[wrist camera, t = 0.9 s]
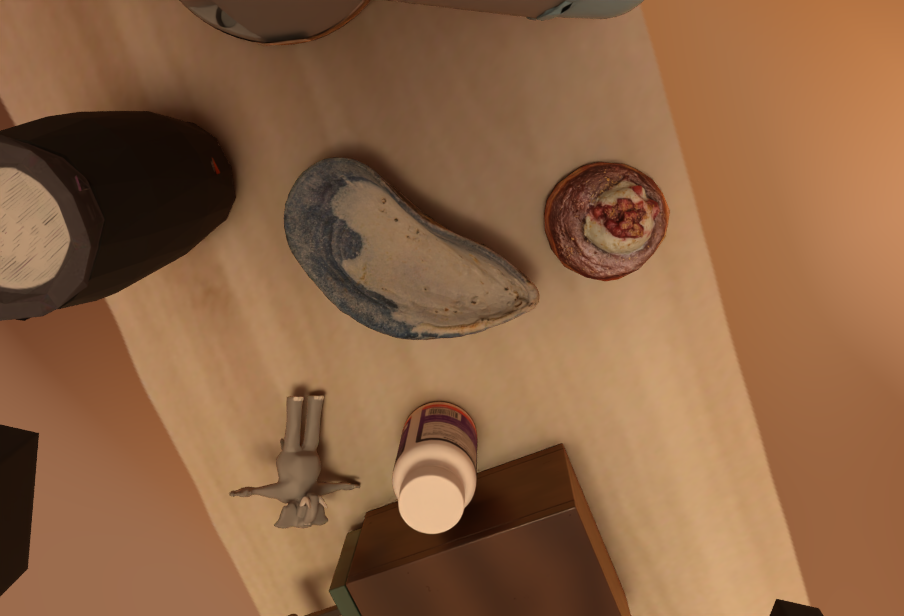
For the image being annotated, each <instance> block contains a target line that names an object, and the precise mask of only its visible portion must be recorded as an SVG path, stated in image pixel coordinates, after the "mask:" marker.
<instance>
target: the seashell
mask: <svg viewBox="0 0 904 616" xmlns="http://www.w3.org/2000/svg"><path fill="white" fill-rule="evenodd" d="M284 228H285V233H286V238H287V241H288V245H289V247H290V249H291V251H292V253H293V255H294V256H295V258H296V259H297V261H298V262H299V264H300V265H301V266H302V268H303V269H304V270H305V272H306V273H307V275H308V276H309V277H310V278H311V279H312V280H313V281H314V282H315V284H316V285H317V286H318V288H319V289H320V290H321V291H322V292H323V293H324V294H325V296H326V297H327V298H328V299H329V300H330V301H331V302H332V303H333V304H335V305H336V306H337V307H338V309H339V310H340V311H342V312H343V313H345V314H347V315H349V316H351V317H352V318H353V319H355V320H356V321H357V322H359V323H361V324H363V325H365V326H366V327H368V328H370V329H373V330H375V331H378V332H380V333H383V334H387V335H389V336H392V337H396V338H401V339H412V340H421V339H422V340H429V339H438V338H453V337H461V336H464V335H468V334H475V333H478V332H481V331H484V330H486V329H488V328H491V327H494V326H497V325H500V324H503V323H505V322H508V321H510V320H512V319H514V318H516V317H518V316H520V315H522V314H525V313H527V312H529V311H530V310H532V309H534V308H535V307H536V305H537V304H538V302H539V292H538V289H537V287H536V286H535V284H534V283H533V282H532V281H531V280H530V279H529V278H528V277H527V276H525V275H524V274H523V273H522V272H521V271H519V270H518V269H517V268H516V267H514V266H513V265H512V264H511V263H510V262H508V261H507V260H506V259H504V258H503V257H502V256H500V255H499V254H498V253H496V252H494V251H492V250H491V249H489V248H488V247H486V246H485V245H484V244H480V243H477V242H475V241H472V240H470V239H468V238H465V237H463V236H461V235H458V234H455V233H453V232H452V231H450V230H448V229H447V228H445V227H444V226H442V225H441V224H439V223H438V222H436V221H435V220H434V219H432V218H431V217H429V216H427V215H426V214H424V213H423V212H422V211H421V210H420V209H419V208H418V207H416V206H415V205H414V204H413V203H412V202H410V201H409V200H408V199H407V198H406V197H405V196H404V195H403V194H402V193H400V192H399V191H398V190H397V189H395V188H394V187H393V186H392V185H390V184H389V183H388V182H386V181H385V180H384V179H383V178H382V177H381V176H380V175H379V174H378V173H376V172H375V171H374V170H373V169H371V168H370V167H369V166H367V165H366V164H363V163H361V162H359V161H357V160H354V159H348V158H328V159H324V160H321V161H319V162H317V163H315V164H313V165H312V166H311V167H309V168H308V169H307V170H305V171H304V172H303V173H302V174H301V175H300V176H299V178H298V179H297V180H296V182H295V184H294V185H293V187H292V189H291V191H290V193H289V195H288V199H287V201H286V203H285V211H284Z"/></svg>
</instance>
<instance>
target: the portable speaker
mask: <svg viewBox="0 0 904 616" xmlns="http://www.w3.org/2000/svg"><path fill="white" fill-rule="evenodd" d="M234 200H235V193H234V189H233V179H232V170H231V167H230V164H229V163H228V160H227V158H226V156H225V154H224V152H223V150H222V148H221V146H219V144H218V142H217V139H216V138H215V137H213V136H212V135H210V134H209V133H207V132H206V131H205V130H203V129H202V128H200V127H199V126H197V125H196V124H195V123H190V122H184V121H181V120H178V119H174V118H171V117H167V116H164V115H160V114H156V113H153V112H149V111H98V112H76V113H69V114H62V115H55V116H48V117H44V118H41V119H38V120H35V121H31V122H28V123H25V124H21V125H18V126H15V127H11V128H8V129H5V130H1V131H0V321H1V320H11V319H16V320H24V321H25V320H26V319H29V318H31V317H40V316H44V315H46V314H48V313H50V312H52V311H54V310H56V309H61V308H66V307H70V306H74V305H79V304H83V303H88V302H92V301H97V300H99V299H102V298H104V297H107V296H110V295H112V294H115V293H117V292H119V291H121V290H123V289H124V288H126V287H128V286H130V285H132V284H133V283H135V282H137V281H139V280H141V279H142V278H144V277H146V276H148V275H149V274H151V273H153V272H155V271H157V270H158V269H160V268H162V267H164V266H166V265H167V264H169V263H171V262H173V261H175V260H176V259H178V258H180V257H182V256H184V255H185V254H187V253H188V252H189V251H190V250H191V249H192V248H194V247H195V246H196V245H197V244H198V243H199V242H200V241H201V240H203V239H204V238H205V237H206V236H207V235H208V234H209V233H210V232H212V231H213V230H214V229H215V228H216V227H217V226H218V225H220V224H221V223H222V222H224V221H225V220H226V219H227V216H228V214H229V212H230V209H231V207H232V205H233V202H234Z"/></svg>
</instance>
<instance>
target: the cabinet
mask: <svg viewBox="0 0 904 616" xmlns="http://www.w3.org/2000/svg"><path fill="white" fill-rule="evenodd" d="M346 586H347V588H348V590H349V592H350V594H351V596H352V597H353V599H354V601H355V603H356V605H357V607H358V609H359V611H360V613H361V615H362V616H631V614H630V611H629V607H628V603H627V599H626V596H625V593H624V590H623V588H622V586H621V583H620V581H619V578H618V576H617V574H616V571H615V569H614V566H613V564H612V561H611V559H610V557H609V554H608V552H607V549H606V547H605V545H604V542H603V540H602V537H601V535H600V532H599V530H598V528H597V525H596V523H595V520H594V518H593V516H592V513H591V511H590V508H589V506H588V503H587V501H586V499H585V496H584V494H583V491H582V489H581V487H580V484H579V482H578V479H577V477H576V474H575V472H574V470H573V467H572V465H571V462H570V460H569V458H568V455H567V453H566V450H565V448H564V445H563V444H560V445H557V446H554V447H551V448H548V449H545V450H543V451H540V452H537V453H534V454H531V455H528V456H526V457H523V458H520V459H517V460H514V461H511V462H509V463H506V464H503V465H500V466H497V467H494V468H492V469H489V470H486V471H483V472H480V473H477V480H476V488H475V492H474V495H473V497H472V499H471V501H470V502H469V504H468V505H467V506H466V507H465V508H464V511H463V514H462V516H461V518H460V520H459V521H458V523H457V524H456V525H455V526H453V527H452V528H451V529H449V530H447V531H444V532H441V533H436V534H427V533H423V532H419V531H417V530H415V529H413V528H412V527H410V526H409V525H408V524H407V523H406V522H405V521H404V519H403V518H402V516H401V514H400V512H399V507H398V502H395V503H392V504H389V505H387V506H384V507H381V508H378V509H375V510H372V511H370V512H367V513H366V516H365V519H364V523H363V526H362V530H361V533H360V537H359V540H358V543H357V547H356V550H355V554H354V557H353V561H352V564H351V568H350V571H349V574H348V578H347V582H346Z"/></svg>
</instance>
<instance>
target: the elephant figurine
mask: <svg viewBox="0 0 904 616" xmlns="http://www.w3.org/2000/svg"><path fill="white" fill-rule="evenodd" d="M323 399H324V396H311V395H310V396H307V413H306V426H305V433H304V441H303V444H302V445H301V446H300V431H301V418H302V405H303V400H304V397H287V425H286V433H285V440H284V441H283V439H281V440H280V443H281V449H282V451H281V453H280V454H279V456H278V457H277V461H276V464H277V470H278V475H279V480H278V482H277V483H275V484H270V485H266V486H262V487H257V488H254V487H244V488H241V489H239V490H236V491H231V492H230V493H229V495H230V496H240V497H249V496H251V495H261V496H265V497H268V498H274V499H278V500H279V501H281V502H283V503H288V505H287V506H284V507H283V509H282V511H281V514H280V517H279V519H278V521H277V522H276V523H275V524H274V526H275V527H278V528H289V527H297V528H307V527H310V526H312V525H323V524H325V523H326V522H328V518H327V517H326V516H325V512H324V507H325V508H326V509H327V505H326V503H325V501H324V500H323V498H322V497H321V496H322V495H325V494H328V493H331V492H334V491H338V490H352V489H354V488H360V486H359V485H355V484H349V483H347V482H340V483H329V482H317V478H318V476H319V474H320V472H321V467H322V466H321V462H320V459H319V456H318V454H317V451H316V450H317V446H318V444H319V431H320V419H321V411H322V405H323Z"/></svg>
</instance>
